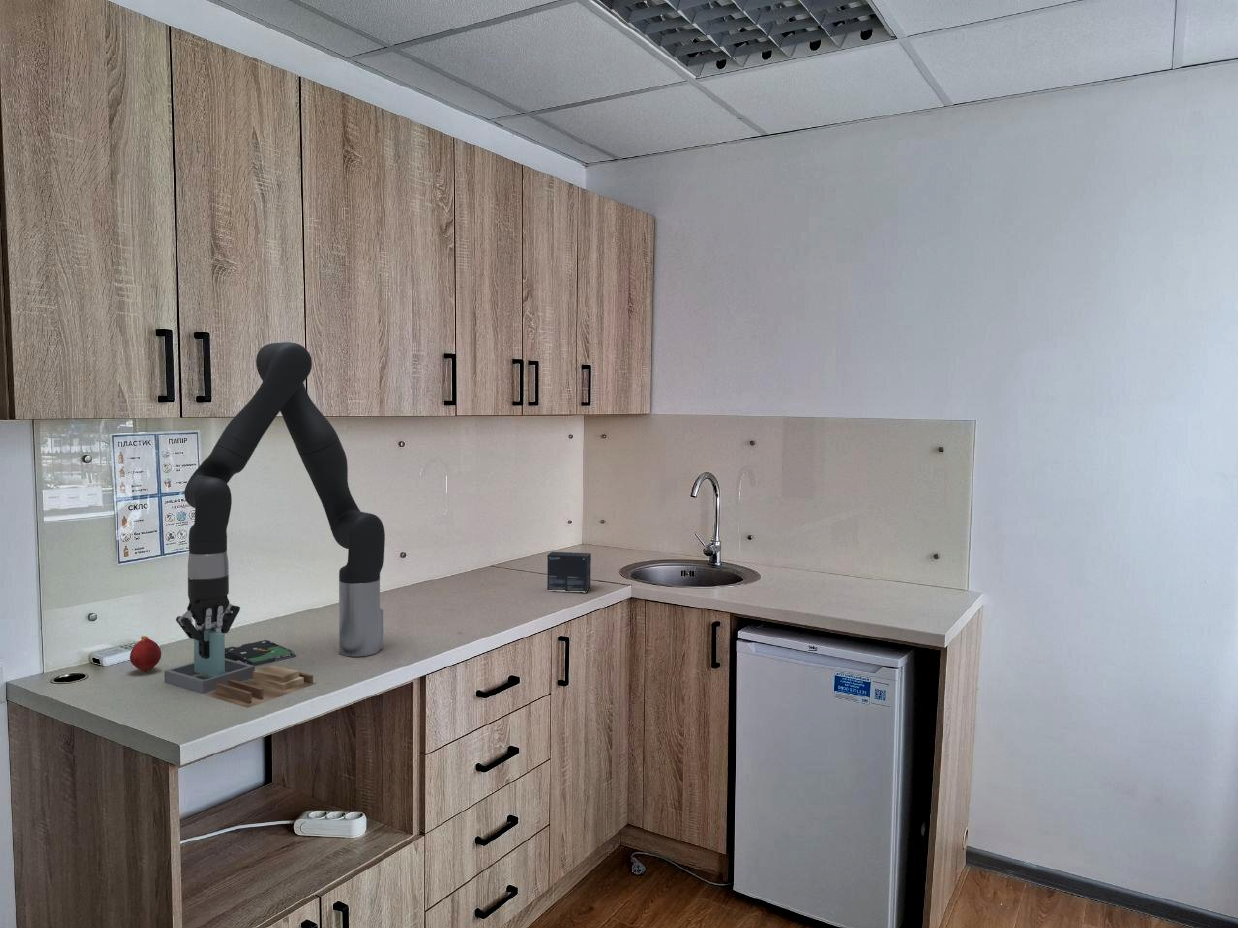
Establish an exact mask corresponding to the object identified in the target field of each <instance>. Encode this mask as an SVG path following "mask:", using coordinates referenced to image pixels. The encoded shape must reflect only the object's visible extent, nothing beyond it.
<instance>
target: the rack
mask: <svg viewBox="0 0 1238 928" xmlns="http://www.w3.org/2000/svg"><path fill="white" fill-rule="evenodd" d="M276 667H279V666H278V665H277V666H276ZM299 677H303V678H304V684H301V685H299V686H296V687H293V688H290V689H287V690H284V691H282V690H278V689H275V688H271V687H267V686H264V685H260V684H257V683H254V678H252V679H248V680H245V681H242V682H238V681H234V680H231V679H230V680H228V686H227V685H223V684H220V683H217V684H216V690H214V691H211V692H207V693H204V696H208V697H210V698H214V699H217V700H221V701H224V702H227V703H230V704H233V705H236V706H237V705H238V706H241V707H244V708H247V709H248V708H251V707H254V706H256V705H259V704H262V703H265V702H268V701H271V700H274V699H276V698H280V697H283V696H286V695H288V694H291V693H293V692H296V691H299V690H302V689H305V688H308V687H312V686H314V685H316V684H317V682H314V675H313V674H309V673H306V672H305V673H304V672H301V671H299Z"/></svg>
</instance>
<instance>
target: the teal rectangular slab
mask: <svg viewBox="0 0 1238 928" xmlns="http://www.w3.org/2000/svg"><path fill="white" fill-rule="evenodd" d="M225 634H226V633H220V632H216V631H212V630H210V638H209V640H208V641H209V653H210V657H209V658H208V659H204V658H202V657H201V656H200V655H199V642H198V640H195V639H193V662H194V672H197V673H199V674H202V675H204V676H207V677H208V676H209V677H210V678H212V677H215V676H218V675H222V674H225V673H226V672H225V648H226V645H225V644H226V643H225V641H226V639H225V637H226V636H225Z"/></svg>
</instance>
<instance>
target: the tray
mask: <svg viewBox="0 0 1238 928" xmlns="http://www.w3.org/2000/svg"><path fill="white" fill-rule="evenodd" d="M255 667H256V666H253V665H249V664H246V663H244V662H242V661H233V660H230V659H226V658H225V674H222V675H218V676H215V677H209V678H205V679H202V678H199V677H195V675H198V674H200V673H197V672H194V661H193V662H190V663H187V664H183V665H178V666H176V667H172V668H169V669H165V670H164V671H163V674H164V675H163V677H164V683H165V684H169V685H173V686H175V687H179V688H183V689H185V690H190V691H192V692H195V693H199V694H204V695H205V694H208V693H211V692H214V691H216V684H217V683H220V684H223V685H227V686H228V680H230V679H231V680H234V681H238V682H241V683H242V682H245V681H249V680H252V679H254V677H253V671H255V670H256V668H255Z"/></svg>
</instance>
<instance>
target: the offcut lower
mask: <svg viewBox="0 0 1238 928" xmlns="http://www.w3.org/2000/svg"><path fill="white" fill-rule="evenodd" d="M253 679H254V683H257V684H260V685H264V686H267V687H271V688H275V689H278V690H282V691H284V690H287V689H290V688H293V687H296V686H299V685H301V684H304V678H303V677H297V678H295V679H292V680H290V681H287V682H284V683H279V682H274V681H269V680H264V679H259V678H253Z"/></svg>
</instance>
